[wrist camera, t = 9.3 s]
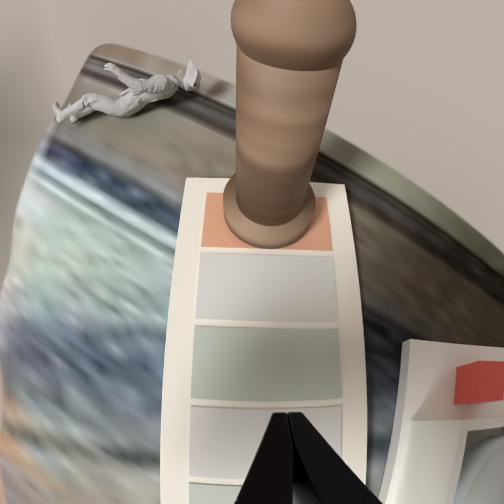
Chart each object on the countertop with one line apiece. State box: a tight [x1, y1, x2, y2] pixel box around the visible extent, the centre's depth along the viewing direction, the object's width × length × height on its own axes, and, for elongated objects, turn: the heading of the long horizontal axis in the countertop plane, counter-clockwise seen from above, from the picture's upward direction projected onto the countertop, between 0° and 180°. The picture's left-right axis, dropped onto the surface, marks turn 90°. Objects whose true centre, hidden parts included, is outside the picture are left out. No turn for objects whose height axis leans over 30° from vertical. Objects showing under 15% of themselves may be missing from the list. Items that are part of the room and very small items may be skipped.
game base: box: [378, 339, 504, 504], centre depth 11 cm, size 14×9×6 cm, turn 169°
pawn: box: [223, 0, 356, 249], centre depth 12 cm, size 5×5×13 cm
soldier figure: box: [53, 60, 201, 124], centre depth 23 cm, size 8×5×12 cm
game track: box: [160, 178, 367, 504], centre depth 15 cm, size 23×10×1 cm, turn 179°
